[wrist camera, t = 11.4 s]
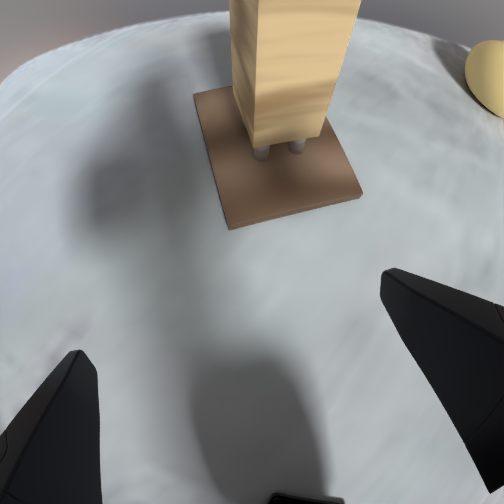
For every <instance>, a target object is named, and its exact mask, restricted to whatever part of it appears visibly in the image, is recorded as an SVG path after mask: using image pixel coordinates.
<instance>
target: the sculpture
mask: <svg viewBox="0 0 504 504" xmlns="http://www.w3.org/2000/svg"><path fill="white" fill-rule="evenodd" d="M465 77H466V81H467V84H468V86H469V88H470V90H471V91H472V93H473V94H474V95H475V97H476V98H477V99H478V100H479V101H480V102H481V103H482V104H483V105H484V106H485V107H487V108H488V109H489V110H490V111H492V112H493V113H494V114H496V115H497V116H499V117H501V118H503V119H504V40H502V41H497V40H487V41H483V42H481V43H479V44H477V45H476V46H475V47H473V48H472V50H471V51H470V52H469V54H468V56H467V59H466V64H465Z"/></svg>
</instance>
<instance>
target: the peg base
mask: <svg viewBox="0 0 504 504" xmlns="http://www.w3.org/2000/svg"><path fill="white" fill-rule="evenodd" d="M194 99H195V103H196V107H197V111H198V115H199V119H200V123H201V127H202V130H203V134H204V138H205V142H206V146H207V150H208V154H209V157H210V161H211V165H212V169H213V173H214V176H215V180H216V184H217V188H218V191H219V195H220V199H221V202H222V206H223V210H224V214H225V217H226V221H227V225H228V228H229V230H232V229H236V228H240V227H244V226H248V225H252V224H256V223H260V222H264V221H267V220H271V219H275V218H279V217H283V216H287V215H291V214H296V213H300V212H304V211H308V210H312V209H316V208H320V207H324V206H328V205H333V204H337V203H341V202H345V201H350V200H354V199H358V198H360V197H361V195H362V194H363V191H362V189H361V187H360V185H359V182H358V180H357V178H356V176H355V174H354V171H353V169H352V167H351V165H350V163H349V161H348V159H347V157H346V155H345V152H344V150H343V148H342V146H341V144H340V142H339V140H338V138H337V136H336V135H335V133H334V131H333V129H332V127H331V125H330V123H329V121H328V119H327V117H325V120H324V123H323V126H322V129H321V132H320V135H319V136H318V137H312V138H306V139H300V140H294V141H288V142H283V143H278V144H272V145H267V146H262V147H258V148H253V146H252V143H251V140H250V138H249V135H248V132H247V129H246V126H245V124H244V121H243V118H242V115H241V113H240V110H239V107H238V104H237V102H236V99H235V96H234V93H233V86H229V87H224V88H219V89H214V90H209V91H205V92H201V93H196V94H194Z"/></svg>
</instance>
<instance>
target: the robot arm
mask: <svg viewBox="0 0 504 504" xmlns="http://www.w3.org/2000/svg"><path fill="white" fill-rule="evenodd" d="M380 298H381V301H382V303H383V305H384V306H385V308H386V310H387V312H388V314H389V316H390V318H391V320H392V322H393V324H394V325H395V327H396V329H397V331H398V333H399V335H400V337H401V339H402V340H403V342H404V344H405V345H406V347H407V348H408V350H409V351H410V353H411V355H412V356H413V358H414V359H415V361H416V362H417V364H418V366H419V367H420V369H421V370H422V372H423V373H424V375H425V377H426V378H427V380H428V382H429V383H430V385H431V386H432V388H433V390H434V391H435V393H436V395H437V396H438V398H439V400H440V401H441V403H442V405H443V407H444V408H445V410H446V412H447V413H448V415H449V417H450V419H451V420H452V422H453V424H454V426H455V428H456V429H457V431H458V433H459V435H460V437H461V438H462V440H463V442H464V444H465V446H466V448H467V450H468V452H469V454H470V456H471V458H472V460H473V461H474V463H475V465H476V467H477V469H478V471H479V473H480V475H481V477H482V479H483V481H484V484H485V486H486V488H487V490H488V492H489V493H490V494H491V493H493V492H494V491H496V490H497V489H499V488H500V487H502V486H503V485H504V306H501V305H498V304H494V303H493V302H490V301H488V300H485V299H482V298H479V297H477V296H474V295H471V294H469V293H466V292H463V291H460V290H457V289H455V288H452V287H449V286H446V285H444V284H441V283H438V282H435V281H432V280H429V279H426V278H424V277H421V276H418V275H415V274H412V273H409V272H406V271H403V270H400V269H398V268H391V269H388V270H385V271H383V273H382V275H381V286H380ZM275 498H280V499H279V500H274V499H275ZM0 504H102V492H101V475H100V414H99V398H98V377H97V371H96V368H95V367H94V365H93V364H92V362H91V361H90V360H89V358H88V357H87V355H86V354H85V353H84V351H82V350H74V351H70V352H69V353H68V354H67V355H66V356H65V357H64V358H63V360H62V361H61V362H60V363H59V364H58V365H57V366H56V368H55V369H54V370H53V371H52V372H51V373H50V375H49V376H48V377H47V378H46V379H45V381H44V382H43V383H42V384H41V385H40V387H39V388H38V389H37V390H36V391H35V393H34V394H33V395H32V396H31V397H30V399H29V400H28V401H27V402H26V404H25V405H24V406H23V407H22V409H21V410H20V411H19V412H18V414H17V415H16V416H15V418H14V419H13V420H12V421H11V423H10V424H9V425H8V427H7V428H6V430H4V432H3V433H2V434H1V436H0ZM267 504H341V503H333V502H325V501H319V500H312V499H306V498H301V497H296V496H291V495H286V494H281V493H274V494H272V495H271V496H270V498H269V500H268V502H267Z"/></svg>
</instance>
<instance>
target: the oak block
mask: <svg viewBox="0 0 504 504" xmlns="http://www.w3.org/2000/svg"><path fill="white" fill-rule="evenodd" d="M360 3H361V0H229V6H230V33H231V57H232V80H233V93H234V96H235V99H236V102H237V104H238V107H239V110H240V113H241V115H242V118H243V121H244V124H245V126H246V129H247V132H248V135H249V138H250V140H251V143H252V146H253V148H258V147H262V146H267V145H272V144H278V143H283V142H288V141H294V140H300V139H306V138H312V137H318V136H319V135H320V132H321V129H322V126H323V123H324V120H325V117H326V113H327V110H328V107H329V104H330V101H331V98H332V95H333V92H334V89H335V85H336V82H337V79H338V76H339V73H340V70H341V66H342V63H343V60H344V57H345V54H346V50H347V47H348V44H349V40H350V37H351V34H352V31H353V27H354V24H355V20H356V17H357V14H358V10H359V7H360Z"/></svg>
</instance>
